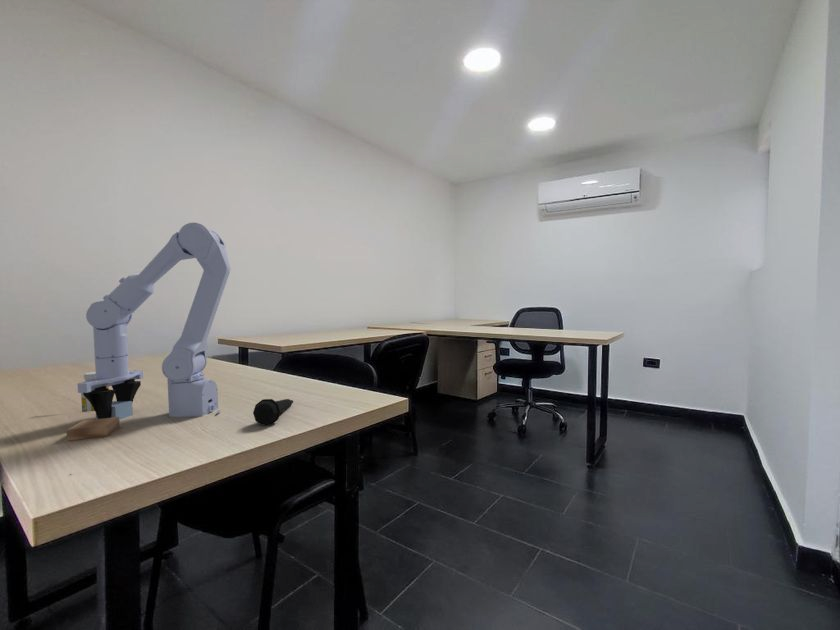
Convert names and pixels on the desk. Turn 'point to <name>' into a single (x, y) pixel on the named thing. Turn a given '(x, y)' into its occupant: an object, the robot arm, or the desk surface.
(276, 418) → the microphone
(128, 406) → the cube
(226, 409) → the desk surface
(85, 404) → the supplement bottle
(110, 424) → the tower mid
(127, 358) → the robot arm
